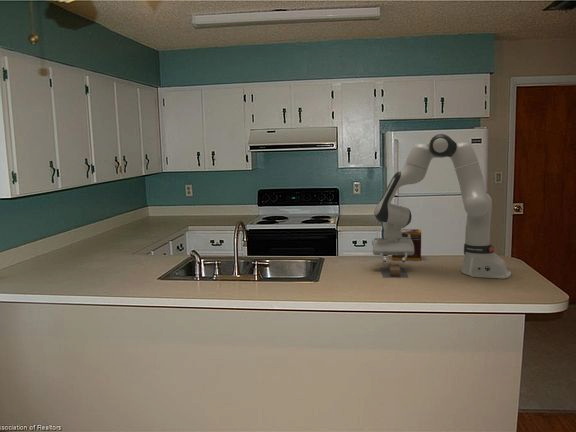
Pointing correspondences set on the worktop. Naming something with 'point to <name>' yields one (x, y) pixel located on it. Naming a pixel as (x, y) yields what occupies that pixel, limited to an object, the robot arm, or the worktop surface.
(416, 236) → the supplement box
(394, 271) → the walnut block
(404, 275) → the rubber mat
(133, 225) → the worktop surface
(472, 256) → the robot arm
